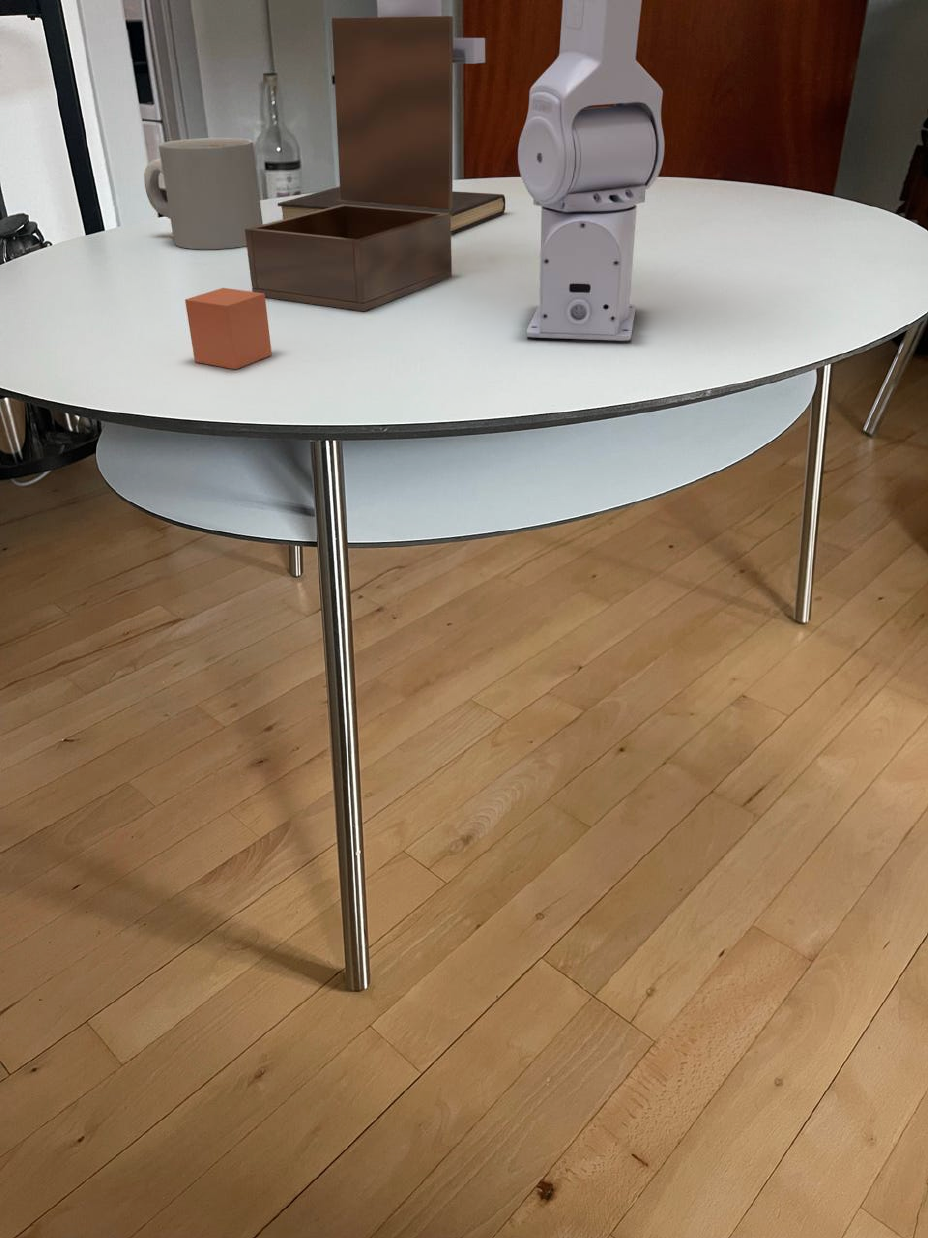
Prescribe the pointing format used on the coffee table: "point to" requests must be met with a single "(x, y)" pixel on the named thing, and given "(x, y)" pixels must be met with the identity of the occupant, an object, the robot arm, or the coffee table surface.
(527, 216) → the coffee table surface
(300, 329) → the coffee table surface
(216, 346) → the block
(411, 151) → the lid
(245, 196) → the coffee mug
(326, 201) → the hardcover book
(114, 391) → the coffee table surface
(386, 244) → the box
